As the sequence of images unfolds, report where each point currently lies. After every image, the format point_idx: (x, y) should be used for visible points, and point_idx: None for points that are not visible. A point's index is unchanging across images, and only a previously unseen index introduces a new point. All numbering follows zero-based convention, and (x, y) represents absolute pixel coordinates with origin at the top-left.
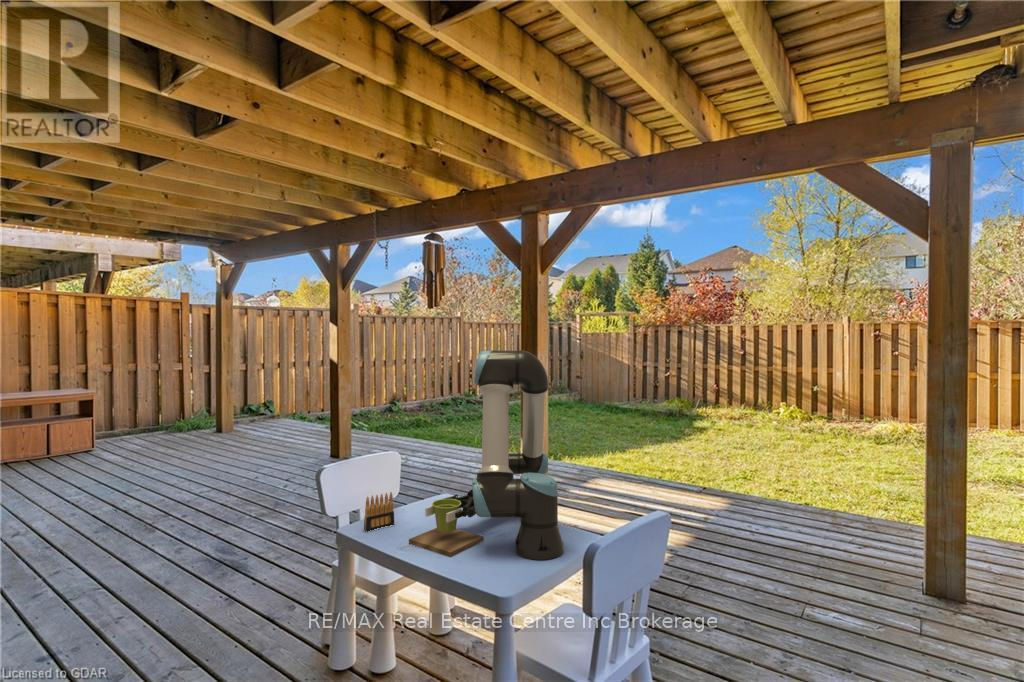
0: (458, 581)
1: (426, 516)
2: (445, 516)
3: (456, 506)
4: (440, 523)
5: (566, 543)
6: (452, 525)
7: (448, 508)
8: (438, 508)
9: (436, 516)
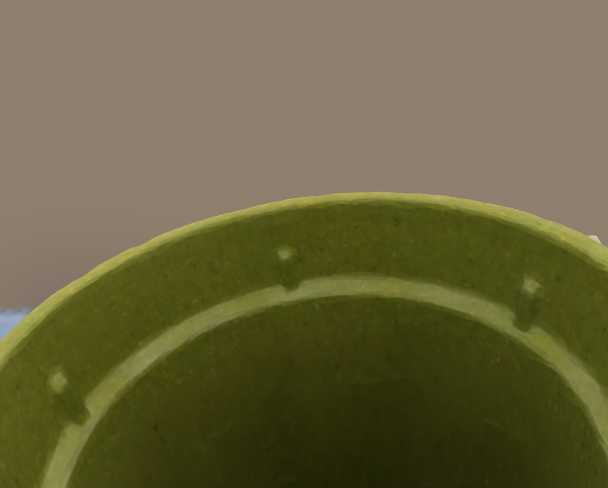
0: (25, 311)
1: None
2: (243, 365)
3: (22, 321)
4: (341, 438)
5: None
6: None
7: (153, 251)
8: (322, 226)
9: (410, 370)
